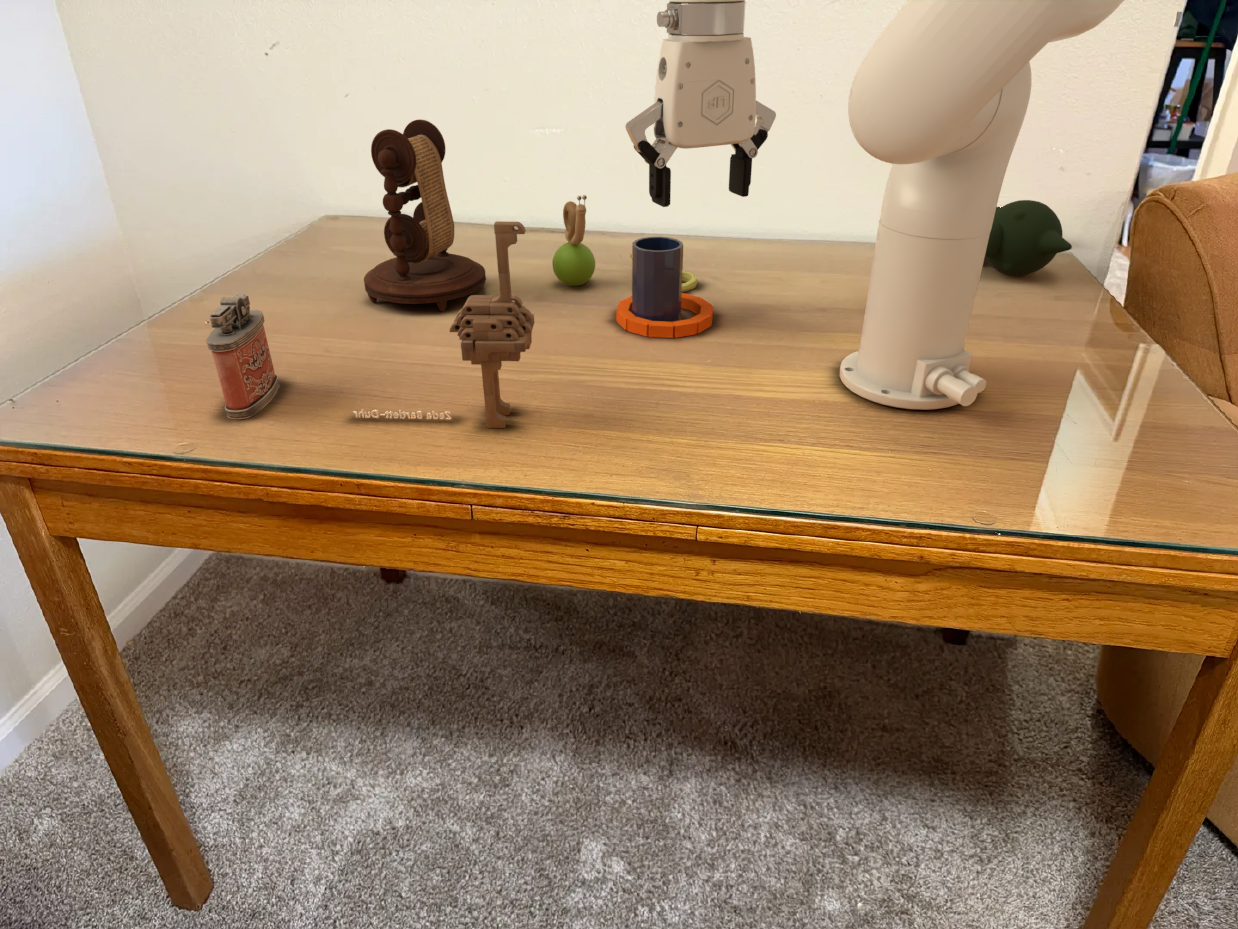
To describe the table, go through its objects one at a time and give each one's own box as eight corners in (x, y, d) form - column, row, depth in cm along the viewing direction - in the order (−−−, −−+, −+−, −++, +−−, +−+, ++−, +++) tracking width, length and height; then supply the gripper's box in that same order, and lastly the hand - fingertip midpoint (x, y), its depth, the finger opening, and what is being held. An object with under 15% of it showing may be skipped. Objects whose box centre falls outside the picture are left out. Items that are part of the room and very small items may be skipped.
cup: (688, 325, 97) (692, 247, 92) (644, 333, 95) (645, 254, 90) (666, 309, 101) (668, 234, 96) (624, 316, 99) (624, 240, 95)
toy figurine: (918, 188, 122) (1014, 207, 100) (1040, 187, 125) (1161, 206, 102) (909, 254, 126) (999, 287, 103) (1028, 252, 128) (1142, 284, 106)
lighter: (253, 381, 85) (229, 284, 79) (287, 381, 84) (264, 284, 79) (218, 419, 78) (189, 316, 72) (254, 419, 78) (228, 316, 72)
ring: (729, 328, 96) (730, 317, 95) (640, 343, 92) (640, 331, 91) (685, 297, 104) (686, 286, 104) (603, 310, 101) (603, 299, 100)
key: (644, 262, 116) (644, 247, 115) (703, 287, 108) (704, 271, 106) (601, 273, 112) (601, 257, 111) (659, 299, 104) (660, 283, 103)
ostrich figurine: (542, 403, 80) (531, 211, 71) (534, 438, 74) (521, 234, 65) (365, 401, 81) (332, 210, 71) (344, 435, 75) (304, 233, 66)
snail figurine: (564, 296, 105) (561, 198, 99) (547, 281, 110) (542, 186, 104) (605, 290, 107) (603, 193, 100) (586, 275, 112) (584, 182, 106)
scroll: (451, 321, 98) (431, 139, 87) (342, 307, 102) (310, 131, 92) (506, 281, 110) (494, 116, 99) (406, 269, 114) (384, 110, 103)
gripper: (644, 28, 78) (643, 216, 87) (801, 21, 84) (786, 197, 93) (611, 24, 84) (614, 200, 92) (760, 17, 90) (749, 183, 98)
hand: (700, 198), depth 93 cm, fingers open, 9 cm apart
